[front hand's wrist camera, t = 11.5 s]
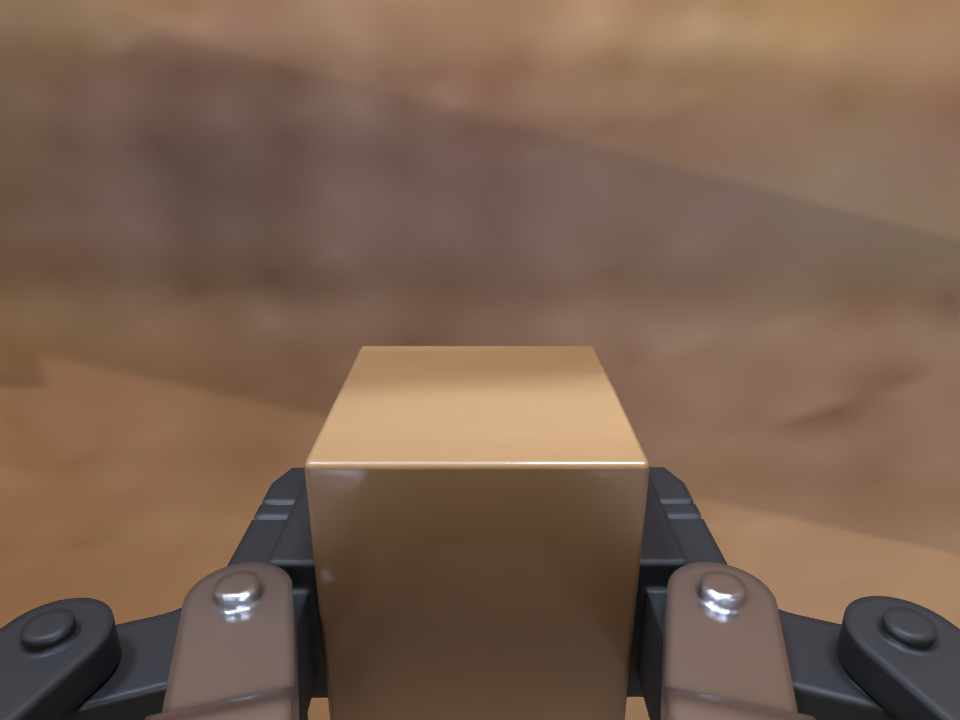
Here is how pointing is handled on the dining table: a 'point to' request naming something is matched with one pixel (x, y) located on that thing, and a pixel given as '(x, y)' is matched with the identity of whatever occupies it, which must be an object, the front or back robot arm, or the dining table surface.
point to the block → (477, 535)
